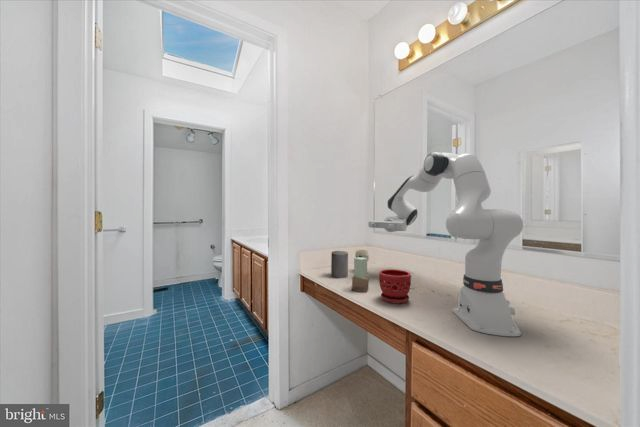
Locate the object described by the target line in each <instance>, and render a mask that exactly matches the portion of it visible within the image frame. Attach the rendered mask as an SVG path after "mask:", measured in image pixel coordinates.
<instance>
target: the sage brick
mask: <svg viewBox="0 0 640 427" xmlns="http://www.w3.org/2000/svg"><path fill="white" fill-rule="evenodd" d="M353 263H354V264H353V268H354V269H353V276H354V277H357V278H361V279H363V278H365V277H367V275H368V260H367V258H363V257H357V258H356V257H354V258H353Z"/></svg>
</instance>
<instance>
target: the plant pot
mask: <svg viewBox="0 0 640 427" xmlns="http://www.w3.org/2000/svg"><path fill="white" fill-rule="evenodd" d="M378 274H379V275H378V280H379V287H380V290H381V294H380V297H381V298H382V300H383V301H386V302H388V303H392V304H404V303H407V302H408V301H409V299H410V296H409V295H408V294H409V292H410V290H411V289H410V287H411V285H412V275H411V273H410V272H409V271H406V270H401V269H382V270H380V271H379V272H378Z"/></svg>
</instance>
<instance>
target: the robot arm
mask: <svg viewBox="0 0 640 427" xmlns="http://www.w3.org/2000/svg"><path fill="white" fill-rule="evenodd" d="M442 178H445V179H447V180H448V179H449V180H450V179H451V180H453V183H454V188H455V191H456V196H457V203H456V206H455V208H454V209H453V210H452V211H451V212H450V213H449V214H448V215H447V218H446V221H445V227H446V230H447V233H448V234H449V235H450V236H451V237H453V238H457V239H462V240H478V242H477V245H476V246H475V247H474V248H472V249H470V250H469V251H468V252H466V254H465V257H464V258H465V259H464V260H465V261H464V274H463V279H462V282H463V283H462V284H463V286H462V287H461V288H460V289H459V290H458V297H457V307H454V308H453V309H452V312H453V313H454V314H455V315H456V316H457V317H458V318H459V320H461V321H462V322H463V323H464V324H465V325H466V326H467V327H468V328H470V330H473V331H475V332H479V333H482V334H488V335H492V336H502V337H520V336H521V335H522V334H521V333H522V332H521V330H520V329H519V328H520V327H518V325H517V323H516V321H515V319H514V317H513V316H514V315H515V314H516V309H515V307H510V306H509V305H510V300H508V299H507V298H506V295H505V293H504V284H503V280H502V277H501V276H502V264H503V263H502V262H503V256H504V253H505V251H506V249H507V247H508V246H509V245H510V243H511V242H512V241H513V240H514V239H515V238H517V237H519V236H520V235H521V233H522V231H523V229H524V221H523V219H522V217H521V215H520V214H519V213H518V212H516V211H511V210H508V209H502V208H501V209H500V208H499V209H498V208H497V209H495V208H494V209H485V208H483V206H482V203H483V202H485V201H486V200H488V199H489V197H490V195H491V191H492V190H491V187H490V183H489V181H488V177H487V175H486V172H485V170H484V167H483V164H482V163H481V162H480V160H479V159H478V157H477V156H476V155H475V154H473V153H462V154H457V153H453V152H440V151H433V152H430V153H429V154H427V155H426V157H425V159H424V161H423V164H422V166H421V167H420V169H419V171H418V172H417V173H416V174H415V175H411V176H409V177H408V178H407V179H405V180H404V181H403V183H402V184H401V185H400V186H399V187H398V189H397V190H396V191H395V192H394V194H393V195H391V196H390V197H389V198H388V200H387V208H388V209H389V210H390V211H392V212H394V214H395V215H396V216H387V217H385V218H384V220H369V221H368V223H367V224H368V228H371V229H373V228H374V229H384V230H385V231H386V232H388V233H395V232H406V231H407V228H408V227H409V226H410V225H411V224H412V223H414V222H416V221H415V220H416V219H418V218H417V217H418V214H419V213H418V209H417V208H416V207H415V206H413V204H411V203H410V202H409V201H408V200H406V199H405V198H404V195H406V193H407V192H408V191H409V190H414V191H417V192H422V193H428V192H431V191H433V190H434V189H435V188H436V187H437V186H438V184H439V183H440V182H441V179H442Z"/></svg>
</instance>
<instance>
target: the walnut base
mask: <svg viewBox="0 0 640 427" xmlns="http://www.w3.org/2000/svg"><path fill="white" fill-rule="evenodd" d="M351 279H352V280H351V284H352V285H351V286H352V287H351V291H353V292H362V293H363V292H364V293H367V292H368V290H369V281H370V280H369V274H367V277H365V278H363V279H361V278H357V277H354V275H353V276H352V277H351Z"/></svg>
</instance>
